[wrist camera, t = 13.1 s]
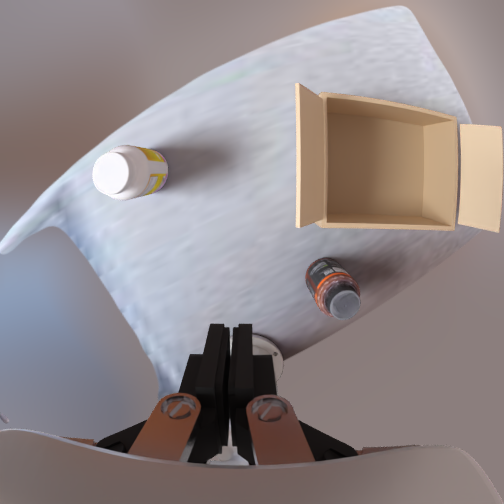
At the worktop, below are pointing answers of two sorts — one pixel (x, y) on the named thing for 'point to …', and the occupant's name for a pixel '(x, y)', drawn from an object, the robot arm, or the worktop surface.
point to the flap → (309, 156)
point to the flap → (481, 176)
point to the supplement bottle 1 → (130, 172)
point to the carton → (388, 165)
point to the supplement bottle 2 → (333, 289)
